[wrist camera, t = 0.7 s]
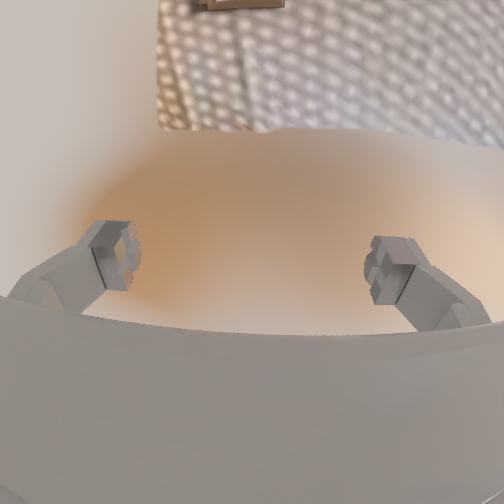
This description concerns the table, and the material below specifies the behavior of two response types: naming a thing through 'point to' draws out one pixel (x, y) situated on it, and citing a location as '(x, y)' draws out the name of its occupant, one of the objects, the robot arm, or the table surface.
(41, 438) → the robot arm
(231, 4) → the display bay
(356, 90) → the table surface
